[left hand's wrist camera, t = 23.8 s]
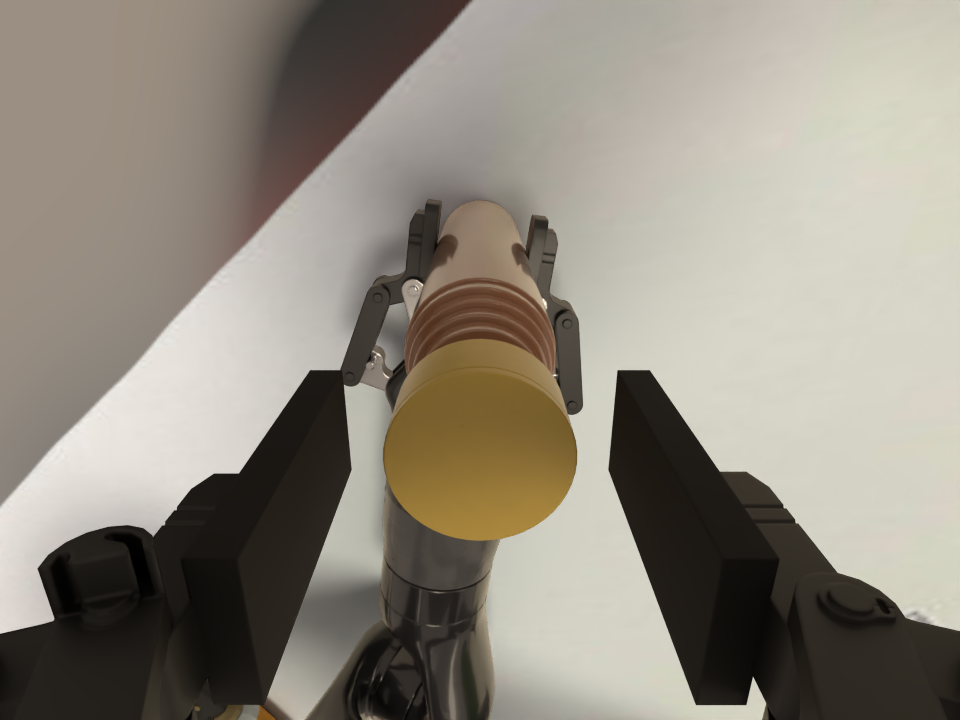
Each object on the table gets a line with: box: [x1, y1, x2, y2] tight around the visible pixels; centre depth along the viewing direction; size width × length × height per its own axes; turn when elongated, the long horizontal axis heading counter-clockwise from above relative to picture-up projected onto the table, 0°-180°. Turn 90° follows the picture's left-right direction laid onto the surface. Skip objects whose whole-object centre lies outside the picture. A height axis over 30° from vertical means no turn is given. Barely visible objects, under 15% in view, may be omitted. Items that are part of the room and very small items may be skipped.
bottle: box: [405, 200, 556, 375], centre depth 25 cm, size 5×5×26 cm
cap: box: [383, 339, 577, 541], centre depth 14 cm, size 4×4×2 cm
